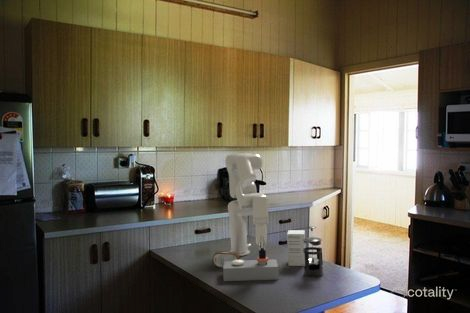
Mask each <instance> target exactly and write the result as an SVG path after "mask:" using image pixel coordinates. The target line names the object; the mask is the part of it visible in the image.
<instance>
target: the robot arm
mask: <svg viewBox="0 0 470 313" xmlns="http://www.w3.org/2000/svg"><path fill="white" fill-rule="evenodd" d="M224 161H225V167H226V171H227V173H228V179H229V180H228V182H229V183H228V184H229V195H230V197H231V198H233V199H235V200H231V201H230V202H228V205H227V211H228V216H229V217H228V218H229V224H230V225H229V226H230V228H229V230H230V246H231V247H230V250H229V251H228V252H236V253H237V254H238V255H239V256H240V257H242V256H247V255H250V253H251V250H250V249H249V248H251V247H252V244H251V243H248V238H247V236H248V234H247V222H246V221H245V219H243V217H247V216H252V224H253V225H255V230H254V231H255V245H256V246H258V257H259V258H260V259H265V258H266V257H267V256H266V255H267V254H266V253H267V251H266V250H267V249H266V245H267V238H268V237H267V236H268V235H267V232H268V231H267V225H268V224H269V222H270V221H269V202H268V200H269V199H268V196H267V195H266V194H264V193H262V192H257V191H258V190H257V186H256V183H255V182H256V180H257V175H256V171H257V170H261V169H262V167H263V160H262V157H261V155H260V154H257V153H254V152H246V153H230V154H227V155H226V157H225V160H224Z"/></svg>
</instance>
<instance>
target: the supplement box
mask: <svg viewBox="0 0 470 313" xmlns="http://www.w3.org/2000/svg"><path fill="white" fill-rule="evenodd" d="M304 238H306V230H305V229H300V230H299V229H297V230H296V229H293V230H292V229H291V230H289V229H288V230H287V233H286V243H287V244H286V245H287V266H289V267H290V266H291V267H297V266H299V267H304V266H305V261H304V260H305V253H304V252H303V249H304V248H307V247H306V243H304V241H303V239H304Z"/></svg>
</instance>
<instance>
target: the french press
mask: <svg viewBox="0 0 470 313" xmlns="http://www.w3.org/2000/svg"><path fill="white" fill-rule="evenodd" d="M306 228H307V229H309V230H310V231H311V232H313V231H314V229H316V228H317V227H316V226H307V227H306ZM303 241H304V243H305V244H306V243H309V244H311V246H309V247H306V248H304V249H303V252H304V253H305V260H304V261H305V266H303V275H304V276H306V277H308V278H319V277H323V276H324V267H323V247H320V245H321V244H322V241H323V240H322V238H321V237H315V236H311V237H310V236H309V237H305V238H304V239H303ZM316 246H317V247H316ZM309 255H312V256H314V255H315V256H316V258H314V257H312V258H311V257H310V256H309Z"/></svg>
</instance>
